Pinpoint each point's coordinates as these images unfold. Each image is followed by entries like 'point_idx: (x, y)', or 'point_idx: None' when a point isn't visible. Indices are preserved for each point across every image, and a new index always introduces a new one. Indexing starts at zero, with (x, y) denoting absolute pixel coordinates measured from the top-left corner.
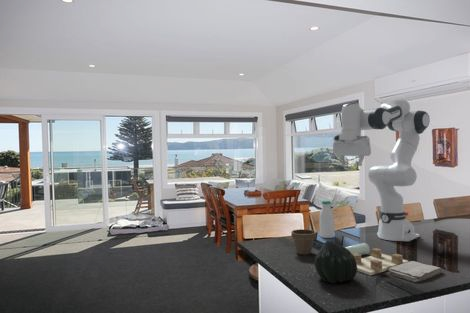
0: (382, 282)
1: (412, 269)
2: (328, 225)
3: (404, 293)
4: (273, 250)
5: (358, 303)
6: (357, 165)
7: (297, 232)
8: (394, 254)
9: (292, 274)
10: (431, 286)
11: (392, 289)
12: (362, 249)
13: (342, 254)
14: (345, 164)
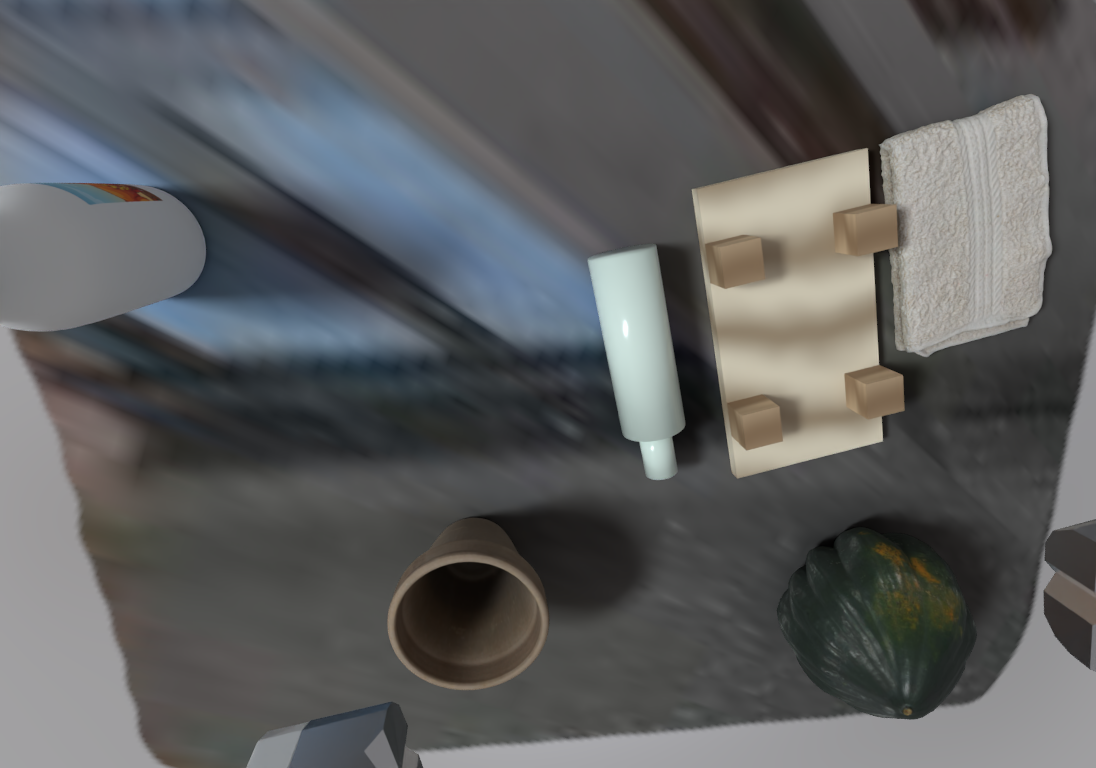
0: (948, 437)
1: (982, 261)
2: (159, 272)
3: (1053, 431)
4: (377, 668)
5: (1014, 606)
6: (1065, 622)
7: (401, 626)
8: (862, 235)
9: (716, 693)
10: (1077, 289)
11: (1009, 446)
12: (666, 307)
13: (968, 656)
14: (396, 738)
